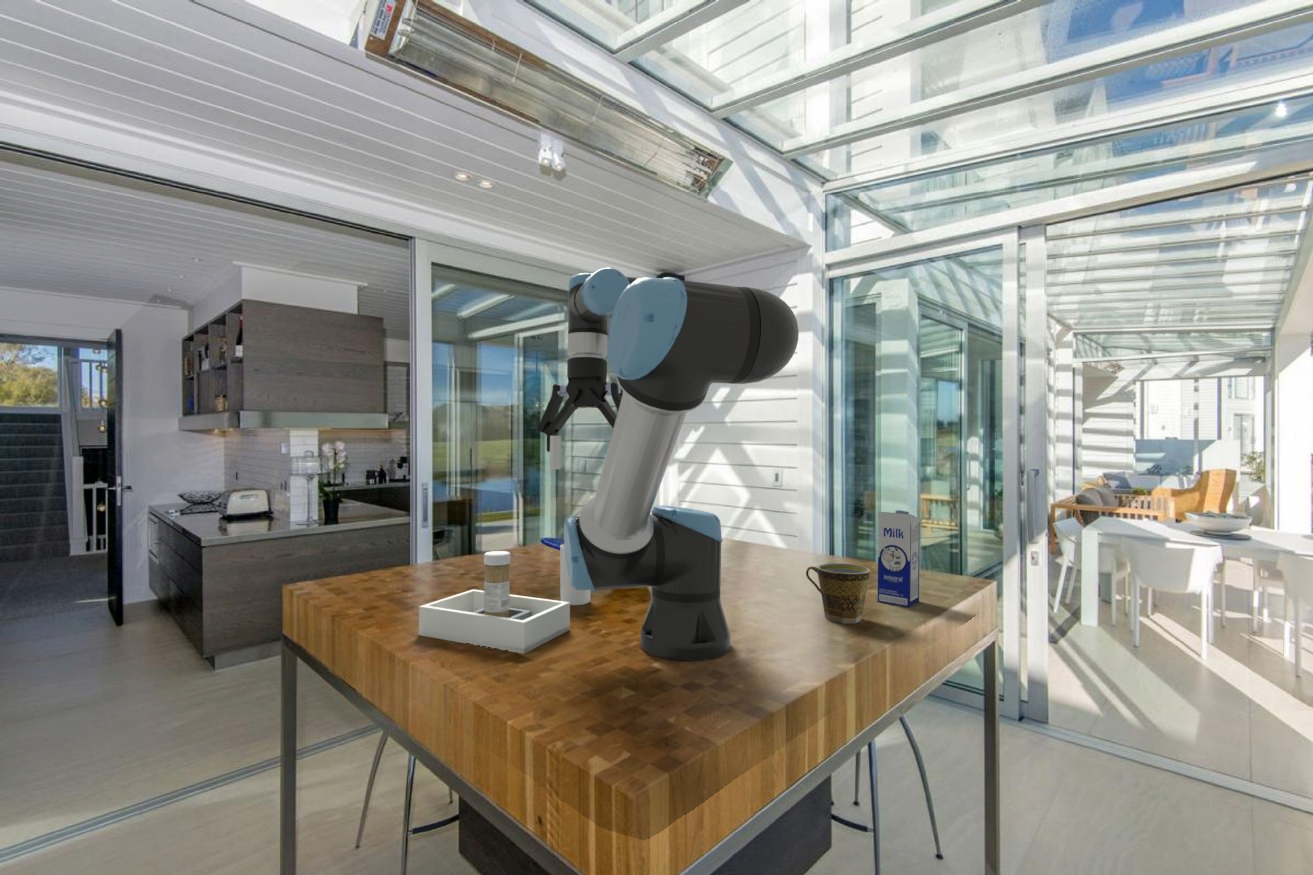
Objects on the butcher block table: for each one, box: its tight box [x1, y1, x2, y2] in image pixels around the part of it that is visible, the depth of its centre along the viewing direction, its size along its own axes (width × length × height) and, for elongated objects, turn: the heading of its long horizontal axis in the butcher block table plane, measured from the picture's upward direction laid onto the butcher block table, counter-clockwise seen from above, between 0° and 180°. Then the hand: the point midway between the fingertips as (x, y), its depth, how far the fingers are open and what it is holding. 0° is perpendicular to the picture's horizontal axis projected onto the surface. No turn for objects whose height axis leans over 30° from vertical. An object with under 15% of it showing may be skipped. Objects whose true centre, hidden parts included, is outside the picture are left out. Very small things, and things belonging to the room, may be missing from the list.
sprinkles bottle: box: [483, 550, 511, 618], centre depth 109 cm, size 5×5×13 cm
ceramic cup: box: [805, 562, 871, 625], centre depth 122 cm, size 13×10×10 cm
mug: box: [559, 543, 592, 606], centre depth 133 cm, size 10×7×12 cm, turn 4°
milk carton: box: [877, 509, 921, 608], centre depth 135 cm, size 7×7×20 cm
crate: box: [418, 588, 571, 655], centre depth 109 cm, size 22×14×5 cm, turn 67°
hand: (585, 470), depth 116 cm, fingers open, 13 cm apart
